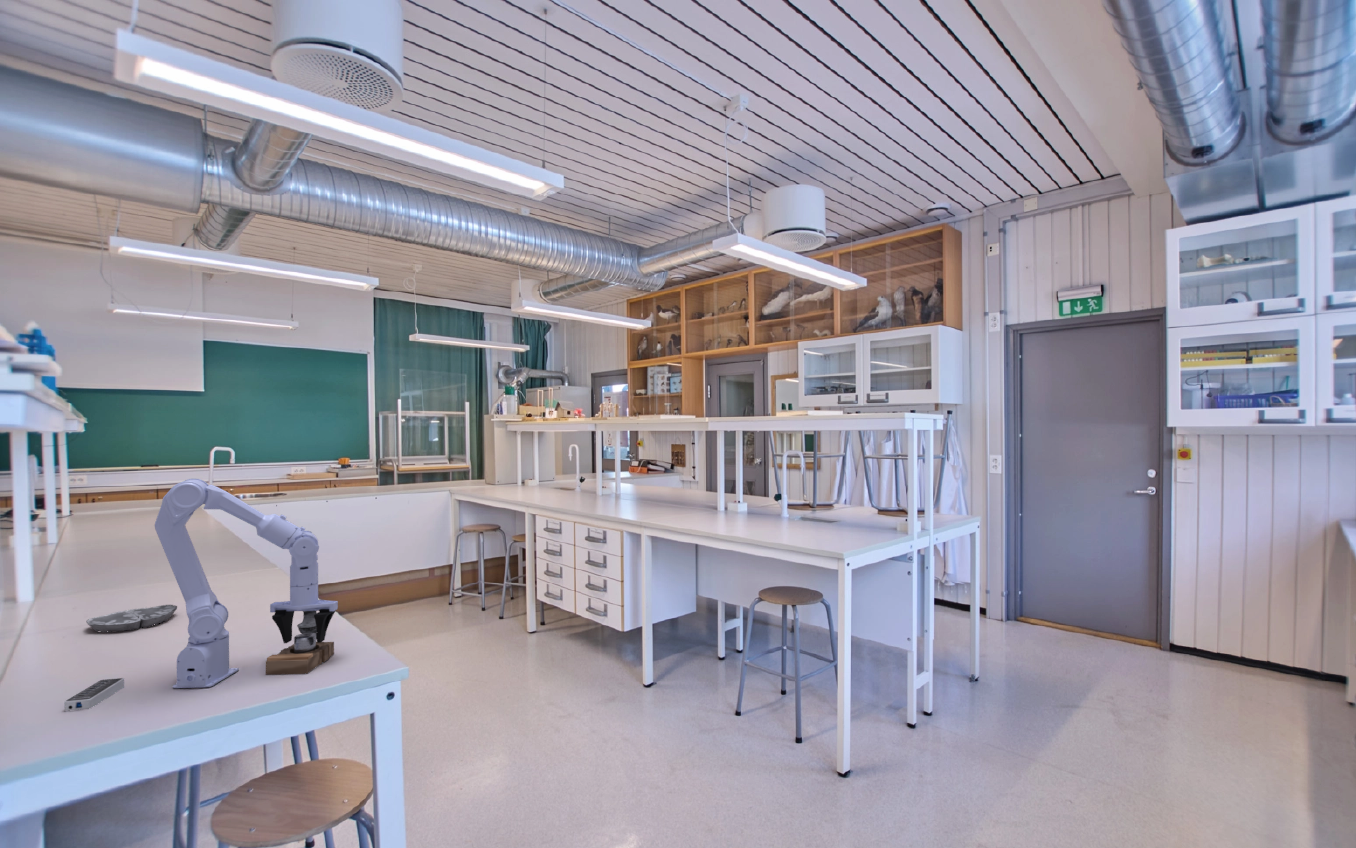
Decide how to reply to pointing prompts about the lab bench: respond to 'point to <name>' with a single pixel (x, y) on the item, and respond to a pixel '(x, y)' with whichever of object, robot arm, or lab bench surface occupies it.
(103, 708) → the lab bench surface
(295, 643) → the bushing
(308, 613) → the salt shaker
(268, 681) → the lab bench surface
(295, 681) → the lab bench surface
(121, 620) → the brain slice
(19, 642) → the lab bench surface
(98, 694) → the multiport hub
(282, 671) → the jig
